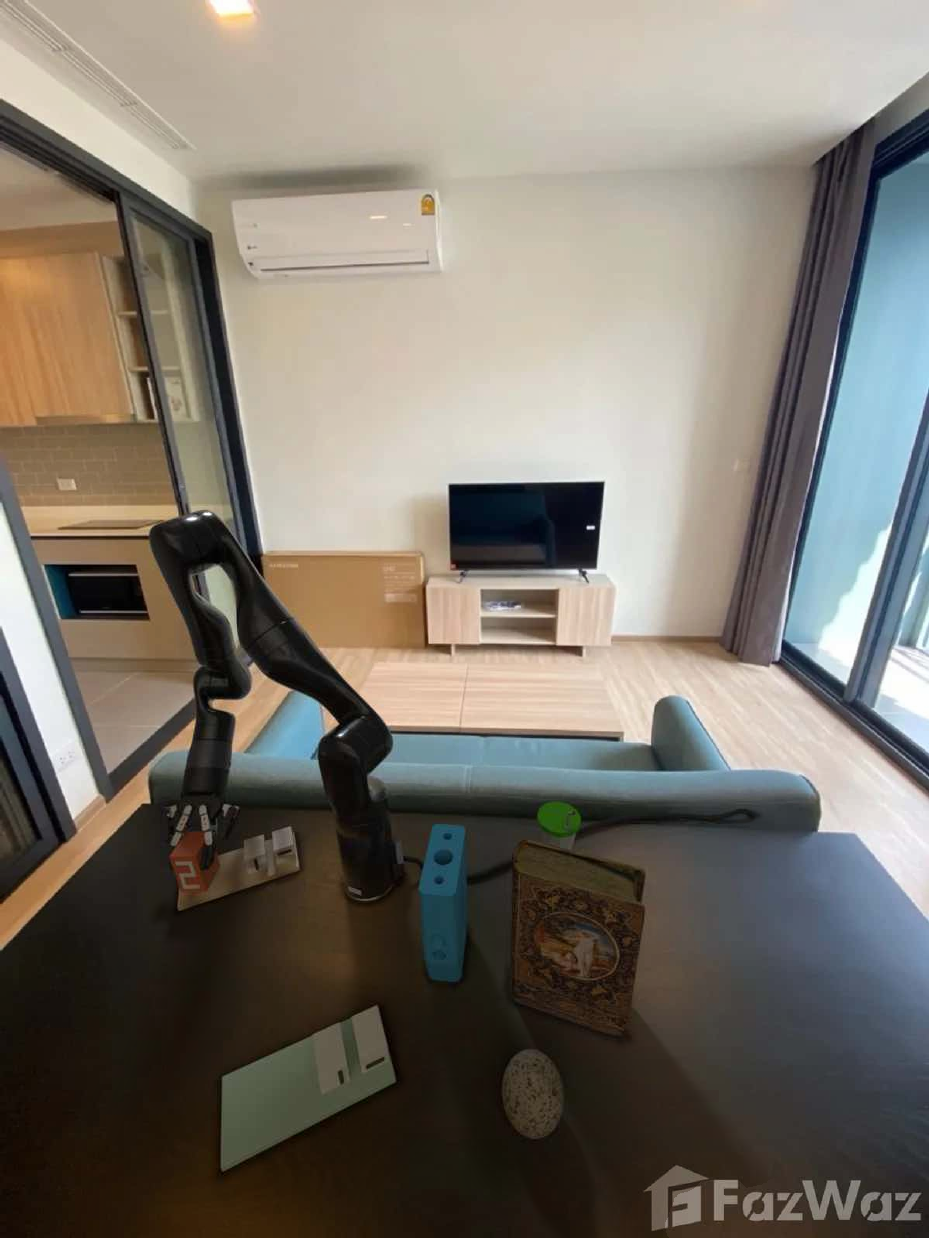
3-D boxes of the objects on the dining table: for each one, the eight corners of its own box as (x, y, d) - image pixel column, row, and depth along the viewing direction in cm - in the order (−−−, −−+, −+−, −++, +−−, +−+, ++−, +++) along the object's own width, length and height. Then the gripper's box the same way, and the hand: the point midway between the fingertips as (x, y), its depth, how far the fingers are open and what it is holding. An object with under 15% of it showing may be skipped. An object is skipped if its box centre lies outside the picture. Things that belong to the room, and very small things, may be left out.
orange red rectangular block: (220, 865, 92) (210, 830, 89) (205, 893, 87) (194, 857, 84) (196, 866, 92) (185, 831, 89) (180, 893, 87) (168, 857, 84)
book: (505, 998, 71) (507, 869, 62) (514, 961, 76) (517, 836, 67) (625, 1040, 66) (647, 907, 57) (626, 997, 71) (647, 868, 62)
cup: (535, 840, 97) (538, 779, 92) (576, 844, 96) (581, 782, 91) (534, 874, 90) (537, 810, 85) (578, 879, 89) (584, 814, 84)
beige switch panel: (294, 835, 100) (291, 818, 98) (299, 870, 92) (296, 852, 91) (183, 870, 93) (177, 852, 91) (178, 911, 85) (172, 892, 83)
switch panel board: (378, 1009, 70) (375, 989, 68) (396, 1081, 63) (393, 1060, 61) (223, 1080, 63) (216, 1059, 61) (222, 1172, 55) (213, 1151, 54)
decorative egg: (571, 1143, 57) (577, 1094, 53) (511, 1162, 56) (513, 1113, 52) (548, 1069, 63) (552, 1020, 60) (494, 1084, 62) (494, 1035, 58)
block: (459, 995, 72) (455, 896, 64) (425, 991, 72) (417, 893, 65) (468, 918, 83) (466, 825, 75) (438, 915, 83) (433, 823, 76)
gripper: (158, 765, 89) (135, 872, 83) (237, 764, 89) (221, 870, 83) (180, 770, 96) (161, 868, 90) (254, 768, 96) (240, 867, 90)
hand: (190, 868), depth 86 cm, fingers closed on orange red rectangular block, 4 cm apart
